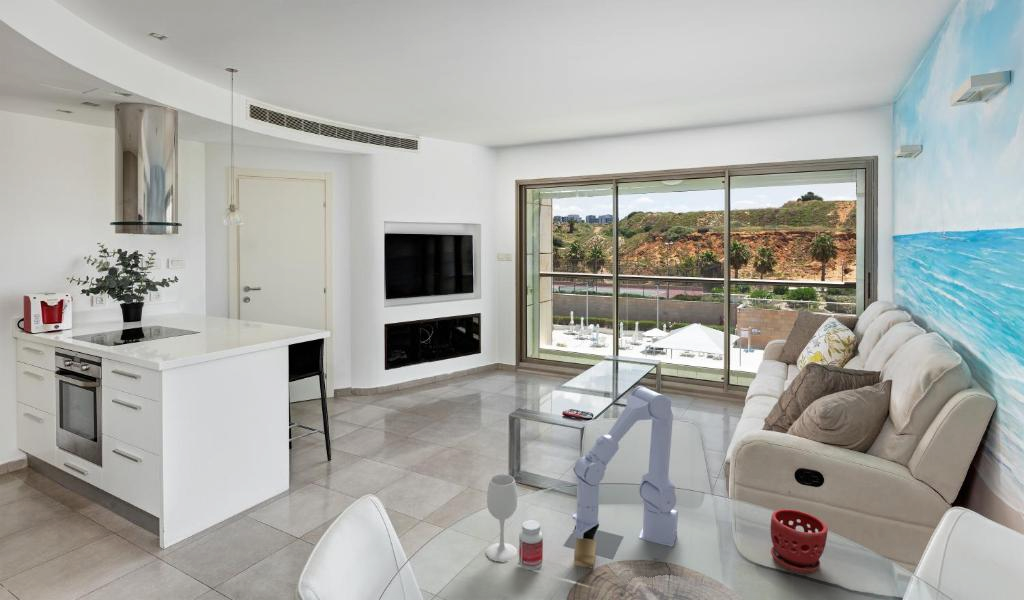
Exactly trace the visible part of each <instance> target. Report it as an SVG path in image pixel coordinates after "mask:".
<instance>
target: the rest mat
mask: <svg viewBox="0 0 1024 600" xmlns="http://www.w3.org/2000/svg"><path fill="white" fill-rule="evenodd" d="M572 532H573V533H572ZM572 532H571V533H572V534H571V533H570V535H569V536H568V538H567V540H566V541H564V544H563V545H562V547H565V548H570V549H573V550H575V545H576V539H577V538H575V528H573V530H572ZM624 538H625V537H624V535H619V534H616V533H611V532H607V531H604V530H599V529H597V531H596V533H595V536H594V539H593V540H596V556H600V557H602V558H605V559H610V560H613V559H614V557H616V556H615V555H616V553H617V551H618V549H619V547H620V545H621V544H622V541H623V540H624Z"/></svg>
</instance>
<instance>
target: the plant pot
mask: <svg viewBox="0 0 1024 600" xmlns="http://www.w3.org/2000/svg"><path fill="white" fill-rule="evenodd" d="M797 520H799V522H798V521H797ZM790 521H791V522H792V524H790ZM808 525H809V526H808ZM797 527H801V528H802V529H803V531H801V530H797ZM816 530H817V532H816ZM809 531H810V532H809ZM828 531H829V529H828V526H827V525H826V524H825V523H824V522H823V520H821V519H819V518H818V517H816V516H814V515H812V514H809V513H807V512H803V511H800V510H795V509H789V508H786V509H785V508H783V509H777V510H774V511H773V512H772V514H771V519H770V538H771V543H772V545H773V546H772V547H771V550H770V553H771V556H772V558H773V559H774V560H775V562H776V563H778V564H779V565H781V567H784V568H785V569H787V570H788V571H793V572H797V573H800V574H801V573H803V574H809V573H813V572H816V571H818V569H819V568H820V567H821V561H820V558H821V557H822V556H823V555H822V554H823V553H824V552H825V551H824V550H825V547H826V542H827V538H828Z"/></svg>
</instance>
